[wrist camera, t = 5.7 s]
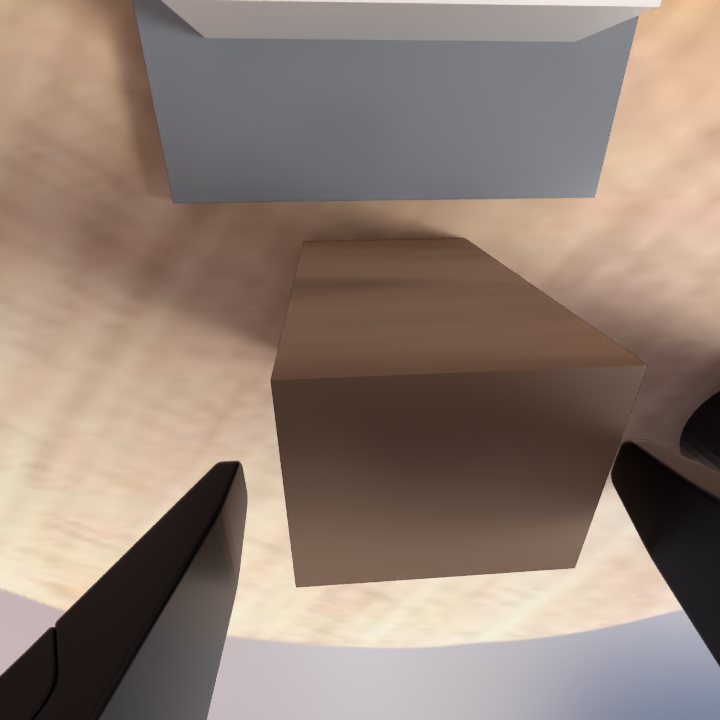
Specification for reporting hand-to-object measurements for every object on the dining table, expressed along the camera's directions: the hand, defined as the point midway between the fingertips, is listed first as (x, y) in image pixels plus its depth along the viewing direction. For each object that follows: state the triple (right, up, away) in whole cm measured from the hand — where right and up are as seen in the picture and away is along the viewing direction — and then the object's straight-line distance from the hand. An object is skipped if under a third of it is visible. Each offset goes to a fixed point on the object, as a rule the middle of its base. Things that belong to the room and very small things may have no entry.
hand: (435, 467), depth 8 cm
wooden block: (-1, +4, +8) cm, 9 cm away
